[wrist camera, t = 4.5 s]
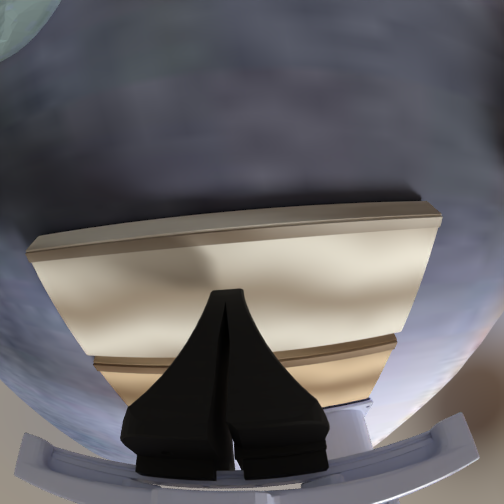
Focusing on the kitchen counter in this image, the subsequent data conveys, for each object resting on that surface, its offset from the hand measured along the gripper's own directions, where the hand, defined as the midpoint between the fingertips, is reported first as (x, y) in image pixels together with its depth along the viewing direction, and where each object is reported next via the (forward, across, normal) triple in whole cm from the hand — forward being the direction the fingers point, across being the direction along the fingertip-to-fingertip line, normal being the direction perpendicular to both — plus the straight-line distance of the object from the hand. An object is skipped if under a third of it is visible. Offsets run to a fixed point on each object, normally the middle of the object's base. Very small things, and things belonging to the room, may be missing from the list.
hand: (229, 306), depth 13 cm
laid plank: (+3, 0, +11) cm, 12 cm away
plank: (+3, 0, +1) cm, 3 cm away
